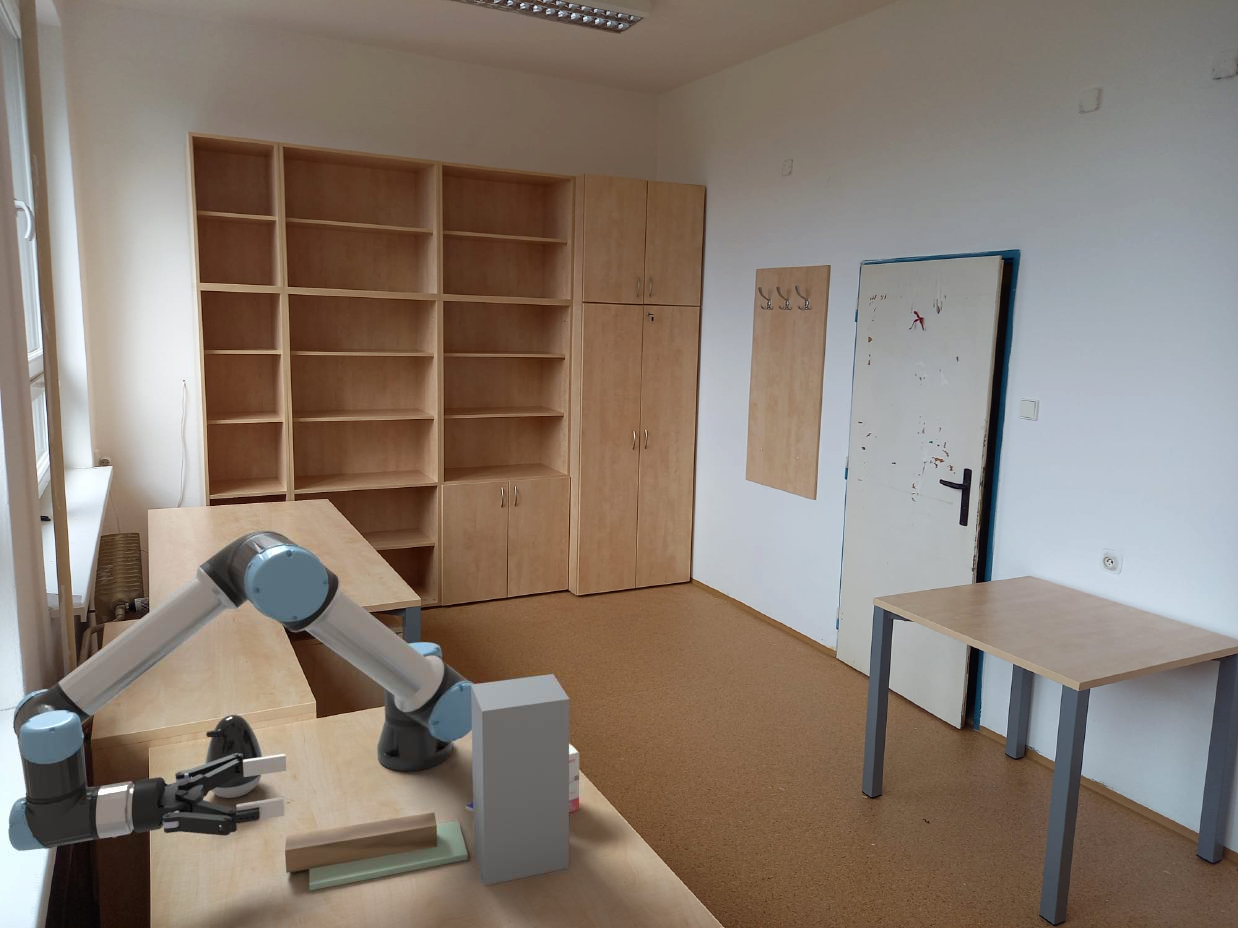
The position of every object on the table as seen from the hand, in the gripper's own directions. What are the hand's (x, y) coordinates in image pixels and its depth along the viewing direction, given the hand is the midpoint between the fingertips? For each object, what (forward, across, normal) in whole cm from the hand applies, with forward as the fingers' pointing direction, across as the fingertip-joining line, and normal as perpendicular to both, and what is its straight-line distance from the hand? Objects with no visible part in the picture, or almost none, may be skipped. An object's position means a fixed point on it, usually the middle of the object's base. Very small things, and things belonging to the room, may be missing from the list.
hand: (285, 782), depth 136 cm
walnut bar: (+12, 0, -15) cm, 19 cm away
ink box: (+46, -4, -16) cm, 48 cm away
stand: (+36, +8, -16) cm, 41 cm away
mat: (+16, 0, -16) cm, 22 cm away
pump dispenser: (-10, -29, -16) cm, 35 cm away
